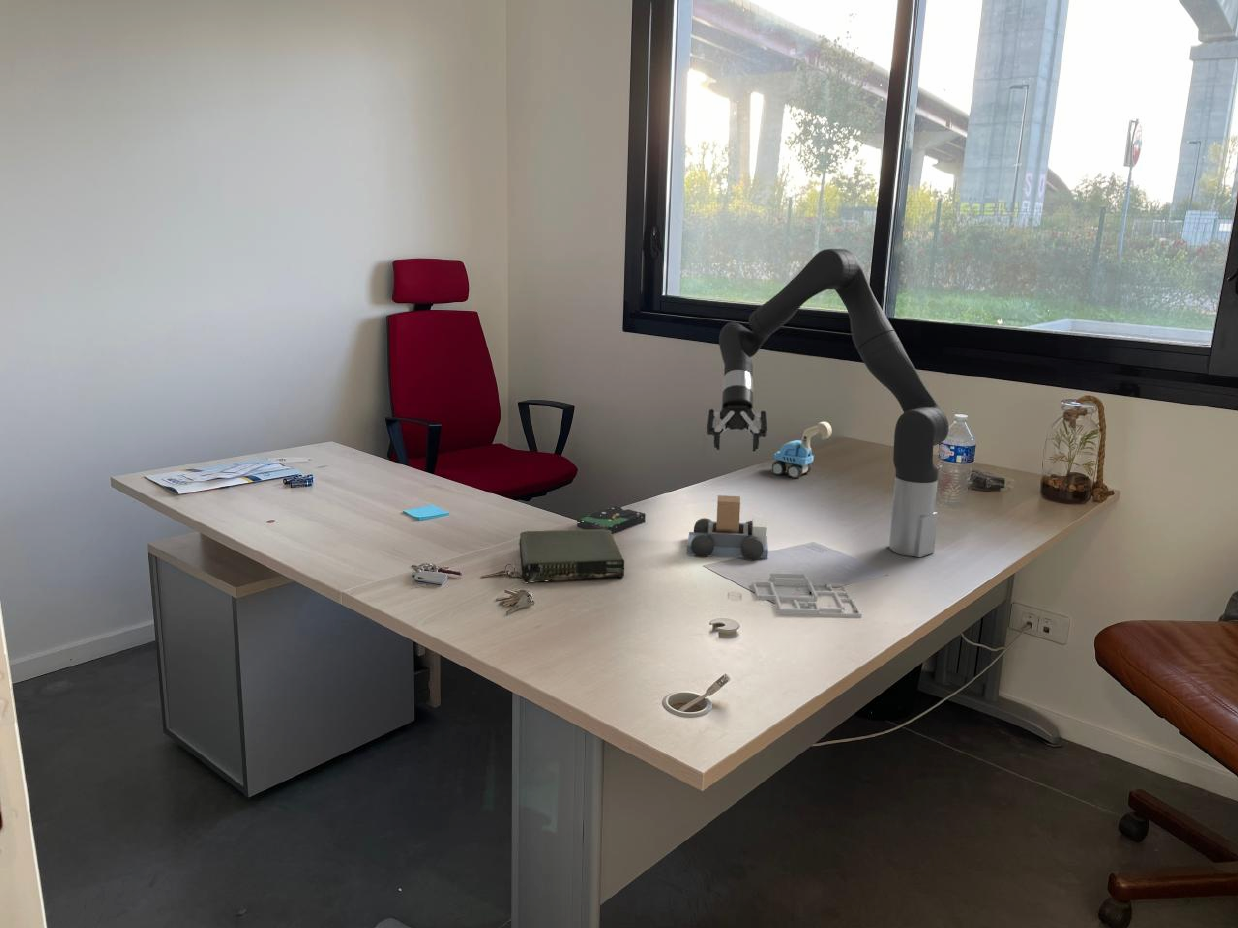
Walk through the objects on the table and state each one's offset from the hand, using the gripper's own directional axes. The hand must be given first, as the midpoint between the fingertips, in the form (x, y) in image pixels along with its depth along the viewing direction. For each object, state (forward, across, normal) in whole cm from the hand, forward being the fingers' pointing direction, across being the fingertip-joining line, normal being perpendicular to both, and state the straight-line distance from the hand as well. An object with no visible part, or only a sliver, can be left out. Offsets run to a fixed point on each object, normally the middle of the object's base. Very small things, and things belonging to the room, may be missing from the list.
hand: (736, 449), depth 218 cm
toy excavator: (-26, +20, +56) cm, 65 cm away
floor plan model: (+43, +11, -12) cm, 46 cm away
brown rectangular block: (+22, -1, +5) cm, 22 cm away
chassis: (+23, -1, +6) cm, 24 cm away
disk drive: (+14, -30, +16) cm, 37 cm away
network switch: (+34, -35, -4) cm, 50 cm away
